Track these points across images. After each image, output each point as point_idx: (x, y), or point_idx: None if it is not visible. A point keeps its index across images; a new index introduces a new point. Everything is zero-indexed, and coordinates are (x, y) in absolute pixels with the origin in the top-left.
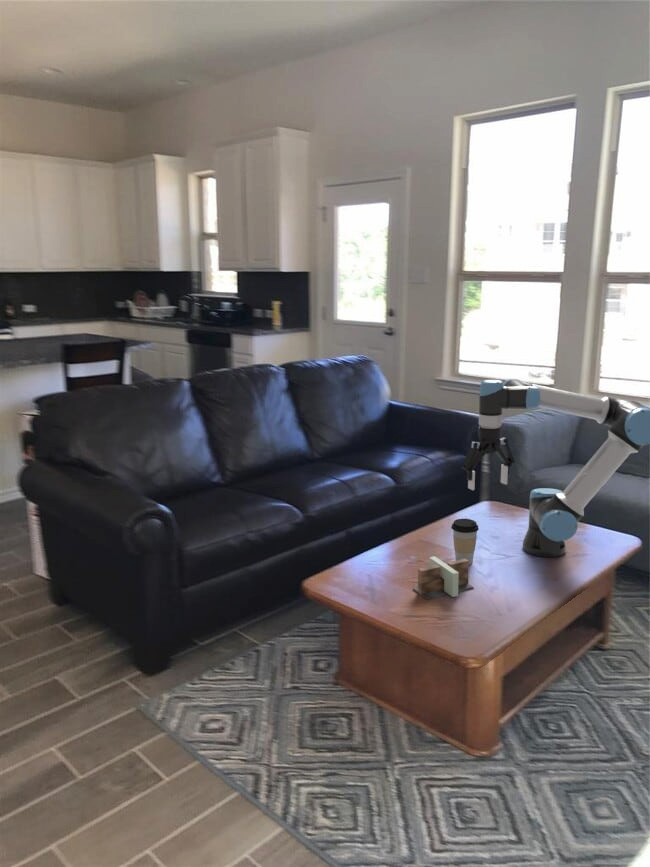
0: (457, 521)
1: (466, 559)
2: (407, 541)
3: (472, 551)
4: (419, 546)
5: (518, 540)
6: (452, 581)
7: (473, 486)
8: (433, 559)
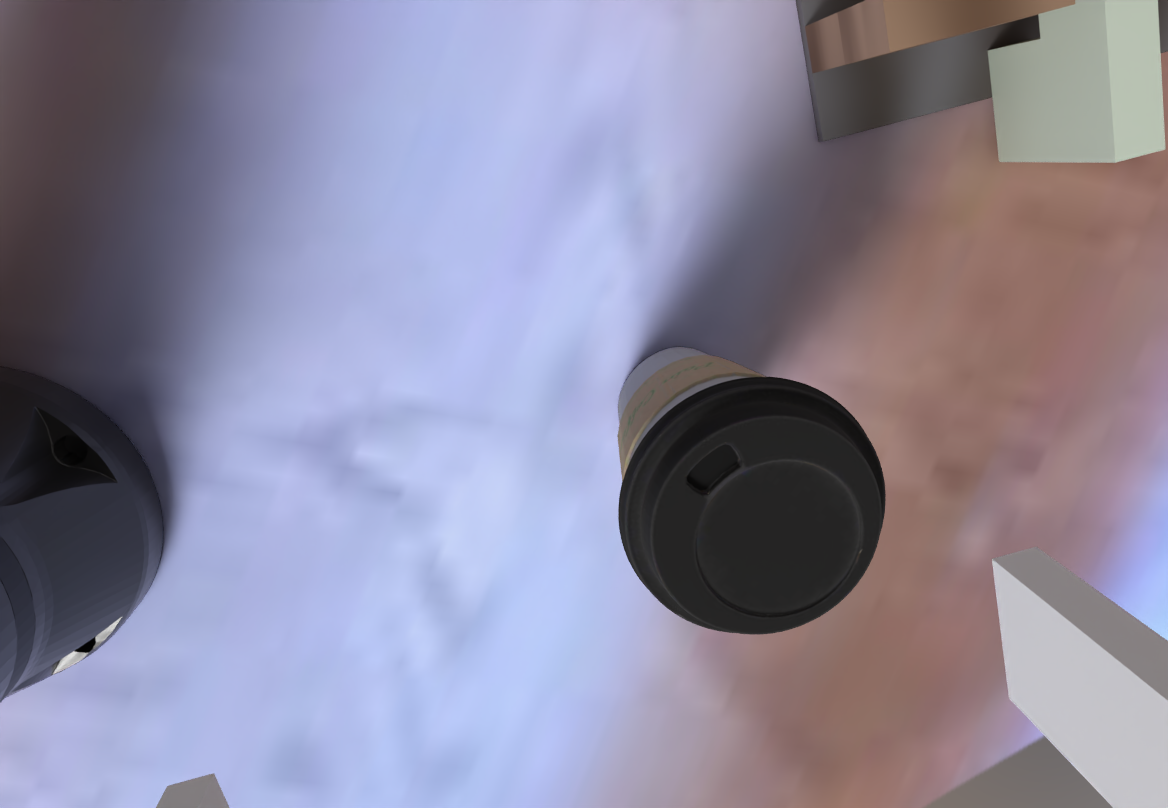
0: (823, 577)
1: (889, 28)
2: (908, 773)
3: (662, 369)
4: (865, 692)
5: (144, 694)
6: None
7: (1068, 588)
8: (1155, 96)
